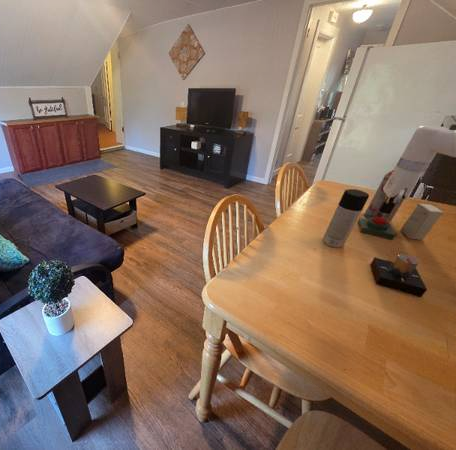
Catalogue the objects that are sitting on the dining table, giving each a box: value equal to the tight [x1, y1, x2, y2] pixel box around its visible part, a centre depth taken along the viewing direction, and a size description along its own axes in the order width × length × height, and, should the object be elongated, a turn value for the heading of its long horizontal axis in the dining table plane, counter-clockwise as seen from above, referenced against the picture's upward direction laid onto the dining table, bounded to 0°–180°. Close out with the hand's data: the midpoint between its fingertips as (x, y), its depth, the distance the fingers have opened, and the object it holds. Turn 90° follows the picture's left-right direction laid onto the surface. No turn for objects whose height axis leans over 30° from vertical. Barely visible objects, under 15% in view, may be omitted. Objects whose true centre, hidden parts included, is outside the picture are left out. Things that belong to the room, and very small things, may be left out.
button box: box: [357, 217, 397, 241], centre depth 95 cm, size 10×9×4 cm
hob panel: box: [369, 257, 428, 298], centre depth 72 cm, size 10×10×3 cm
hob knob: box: [389, 253, 420, 277], centre depth 70 cm, size 4×4×5 cm
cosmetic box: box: [400, 203, 445, 241], centre depth 90 cm, size 6×4×12 cm
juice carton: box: [363, 166, 405, 223], centre depth 99 cm, size 7×7×22 cm
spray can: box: [322, 188, 370, 248], centre depth 84 cm, size 7×7×20 cm
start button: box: [373, 217, 387, 225], centre depth 94 cm, size 4×4×2 cm
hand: (384, 212), depth 92 cm, fingers closed
